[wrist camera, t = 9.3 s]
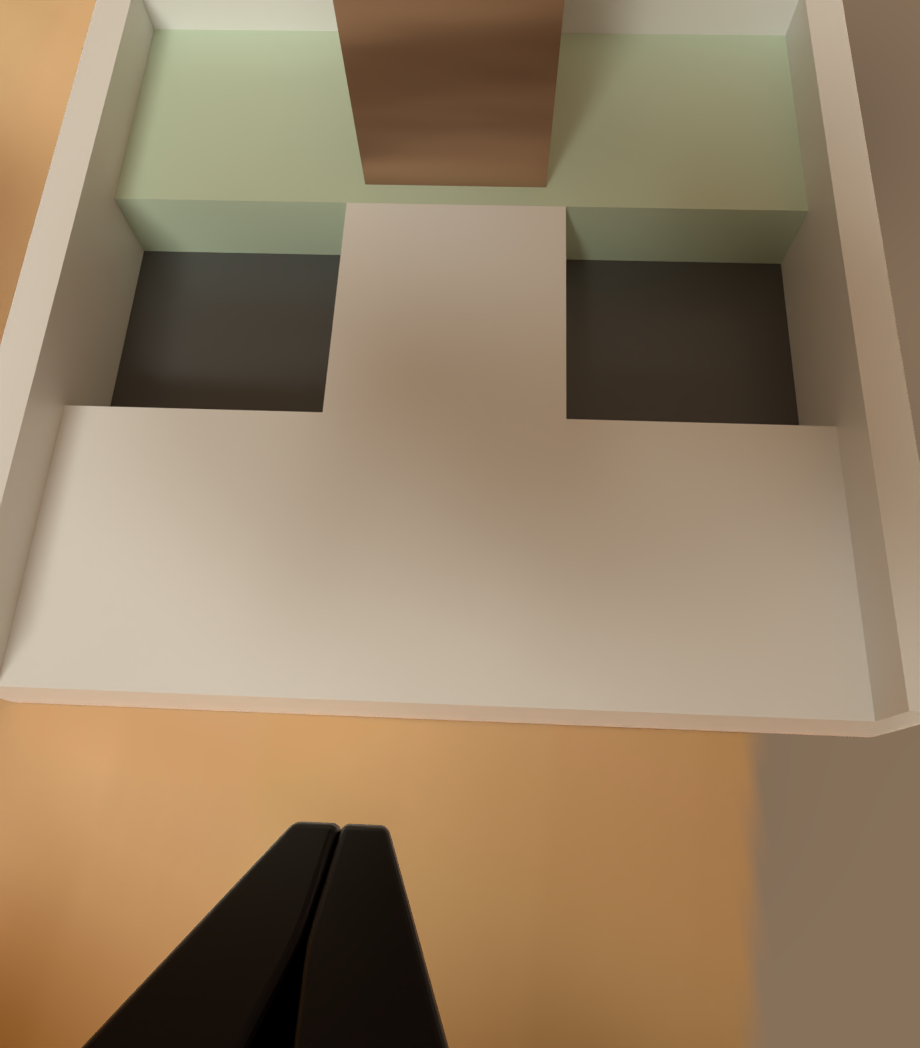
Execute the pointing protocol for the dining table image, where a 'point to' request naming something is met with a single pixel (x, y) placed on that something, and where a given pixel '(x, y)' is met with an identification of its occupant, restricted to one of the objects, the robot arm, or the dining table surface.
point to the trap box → (463, 391)
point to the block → (452, 89)
